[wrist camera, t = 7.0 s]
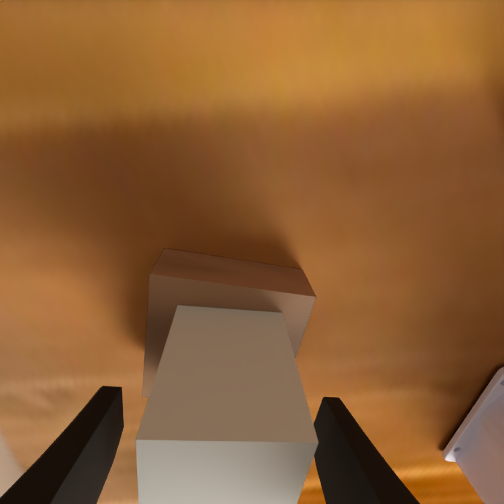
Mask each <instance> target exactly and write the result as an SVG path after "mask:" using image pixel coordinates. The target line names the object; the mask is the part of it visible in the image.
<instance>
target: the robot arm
mask: <svg viewBox="0 0 504 504" xmlns="http://www.w3.org/2000/svg"><path fill="white" fill-rule="evenodd" d="M123 428H124V420H123V402H122V387H111V386H102V387H101V388H100V389H99V390H98V391H97V392H96V394H95V395H94V396H93V397H92V399H91V400H90V401H89V402H88V403H87V405H86V406H85V407H84V408H83V409H82V411H81V412H80V413H79V414H78V415H77V416H76V418H75V419H74V420H73V421H72V422H71V423H70V424H69V426H68V427H67V428H66V429H65V430H64V431H63V432H62V433H61V435H60V436H59V437H58V438H57V439H56V440H55V441H54V442H53V443H52V444H51V446H50V447H49V448H48V449H47V450H46V451H45V452H44V453H43V454H42V455H41V456H40V458H39V459H38V460H37V461H36V462H35V463H34V464H33V465H32V466H31V467H30V468H29V469H28V470H27V471H26V472H25V473H24V474H23V475H22V476H21V477H20V478H19V479H18V480H17V481H16V482H15V483H14V484H13V485H12V487H10V488H9V489H8V490H7V492H6V493H5V494H3V496H2V497H1V498H0V504H96V503H97V501H98V498H99V496H100V494H101V491H102V489H103V486H104V484H105V481H106V479H107V476H108V474H109V471H110V469H111V466H112V464H113V461H114V458H115V454H116V451H117V448H118V445H119V441H120V438H121V435H122V431H123ZM314 428H315V432H316V435H317V439H318V446H317V449H316V451H315V454H314V457H315V462H316V467H317V471H318V475H319V479H320V482H321V486H322V490H323V494H324V497H325V501H326V504H420V503H419V502H418V501H417V500H416V498H415V497H414V496H413V495H412V494H411V492H410V491H409V490H408V489H407V487H406V486H405V485H404V484H403V483H402V481H401V480H400V479H399V478H398V476H397V475H396V474H395V473H394V471H393V470H392V469H391V468H390V466H389V465H388V464H387V462H386V461H385V460H384V458H383V457H382V456H381V454H380V453H379V452H378V450H377V449H376V448H375V447H374V445H373V444H372V442H371V441H370V440H369V438H368V437H367V436H366V434H365V433H364V432H363V430H362V429H361V427H360V426H359V425H358V423H357V422H356V420H355V419H354V418H353V416H352V415H351V413H350V412H349V411H348V409H347V408H346V406H345V405H344V404H343V402H342V401H341V400H340V398H335V397H323V400H322V402H321V405H320V408H319V411H318V414H317V416H316V419H315V422H314ZM442 456H443V457H444V459H445V460H446V461H456V463H457V464H458V466H459V467H460V469H461V470H462V472H463V473H464V475H465V476H466V477H467V479H468V480H469V482H470V483H471V485H472V486H473V488H474V489H475V491H476V492H477V494H478V495H479V497H480V498H481V500H482V501H483V503H484V504H504V367H502V368H500V369H499V370H498V371H497V372H496V374H495V375H494V377H493V378H492V380H491V381H490V383H489V384H488V386H487V387H486V389H485V390H484V391H483V393H482V394H481V396H480V397H479V399H478V400H477V402H476V403H475V405H474V406H473V408H472V409H471V411H470V412H469V414H468V415H467V417H466V418H465V420H464V421H463V423H462V424H461V425H460V427H459V428H458V430H457V431H456V433H455V434H454V436H453V437H452V439H451V440H450V442H449V443H448V445H447V446H446V448H445V449H444V451H443V452H442Z"/></svg>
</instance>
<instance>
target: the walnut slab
mask: <svg viewBox="0 0 504 504" xmlns="http://www.w3.org/2000/svg"><path fill="white" fill-rule="evenodd" d="M315 300H316V295H315V293H314V291H313V289H312V287H311V285H310V283H309V281H308V279H307V277H306V275H305V274H304V272H303V270H302V269H297V268H291V267H284V266H278V265H271V264H264V263H258V262H251V261H245V260H238V259H232V258H225V257H219V256H212V255H206V254H199V253H193V252H186V251H180V250H173V249H167V248H164V250H163V252H162V253H161V255H160V257H159V258H158V260H157V262H156V263H155V265H154V267H153V269H152V270H151V272H150V274H149V290H148V307H147V323H146V340H145V356H144V373H143V389H142V397H148V398H149V396H150V392H151V389H152V386H153V383H154V380H155V376H156V373H157V370H158V367H159V363H160V360H161V357H162V354H163V351H164V347H165V344H166V341H167V338H168V335H169V331H170V328H171V325H172V322H173V319H174V315H175V312H176V309H177V306H178V305H183V306H197V307H211V308H225V309H238V310H252V311H266V312H280V313H282V314H283V317H284V321H285V324H286V328H287V332H288V335H289V339H290V342H291V346H292V349H293V353H294V357H295V358H296V355H297V352H298V349H299V347H300V344H301V341H302V338H303V335H304V332H305V329H306V326H307V323H308V320H309V317H310V314H311V311H312V309H313V306H314V303H315Z"/></svg>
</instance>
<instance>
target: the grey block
mask: <svg viewBox="0 0 504 504" xmlns="http://www.w3.org/2000/svg"><path fill="white" fill-rule="evenodd" d="M317 446H318V439H317V435H316V432H315V428H314V425H313V421H312V417H311V414H310V410H309V407H308V403H307V400H306V396H305V392H304V389H303V385H302V382H301V378H300V374H299V371H298V367H297V364H296V360H295V357H294V353H293V349H292V346H291V342H290V339H289V335H288V332H287V328H286V324H285V321H284V317H283V314H282V313H280V312H266V311H252V310H238V309H225V308H211V307H197V306H183V305H178V306H177V309H176V312H175V315H174V319H173V322H172V325H171V328H170V331H169V335H168V338H167V341H166V344H165V347H164V351H163V354H162V357H161V360H160V363H159V367H158V370H157V373H156V376H155V380H154V383H153V386H152V389H151V392H150V396H149V399H148V402H147V405H146V408H145V412H144V415H143V418H142V421H141V424H140V428H139V431H138V434H137V437H136V456H137V476H138V496H139V504H297V501H298V499H299V496H300V493H301V490H302V488H303V485H304V482H305V479H306V476H307V474H308V471H309V468H310V465H311V462H312V460H313V457H314V454H315V451H316V449H317Z"/></svg>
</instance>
